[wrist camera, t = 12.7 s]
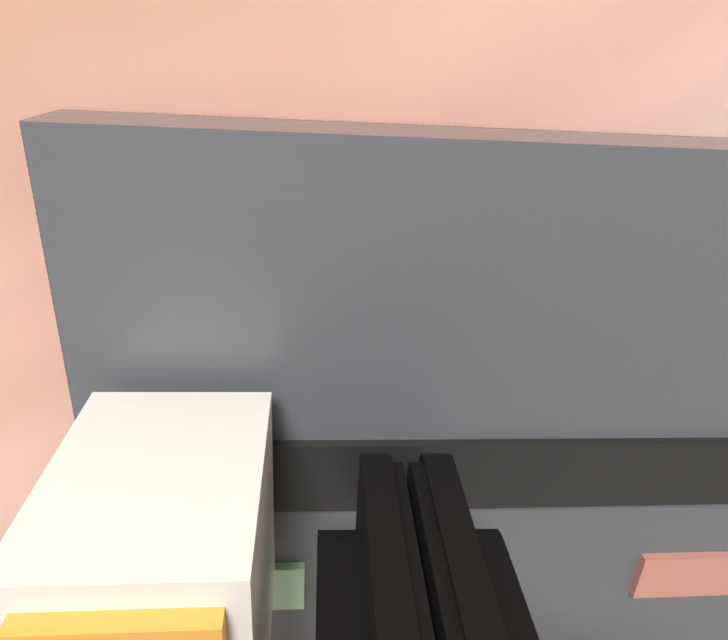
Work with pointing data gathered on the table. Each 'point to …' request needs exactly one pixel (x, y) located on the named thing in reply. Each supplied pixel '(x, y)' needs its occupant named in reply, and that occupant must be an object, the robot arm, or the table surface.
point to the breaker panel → (426, 331)
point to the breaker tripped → (148, 524)
